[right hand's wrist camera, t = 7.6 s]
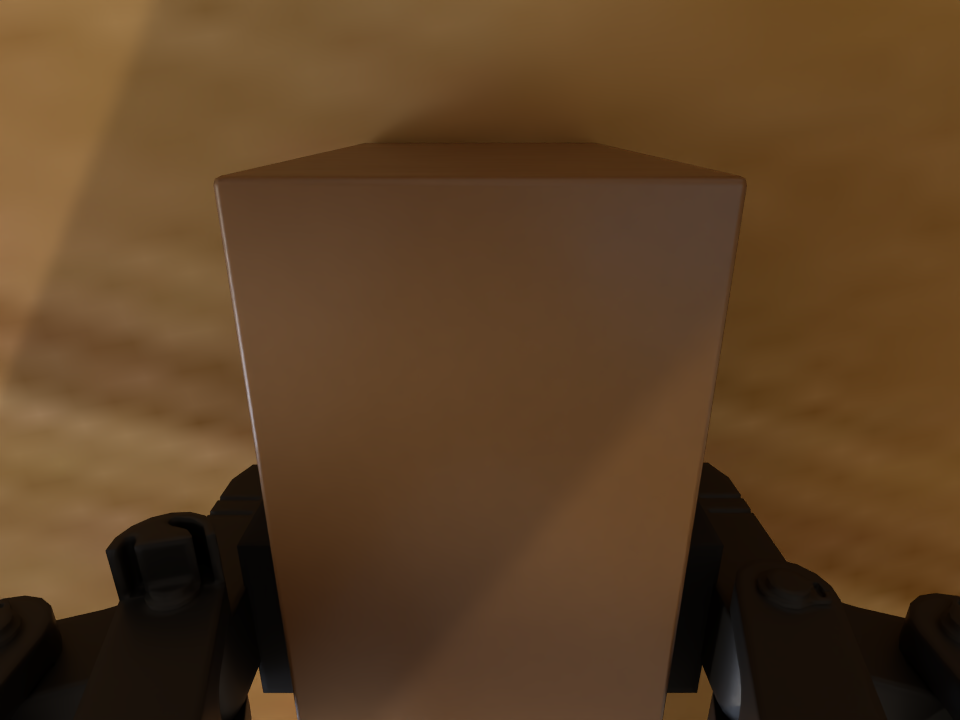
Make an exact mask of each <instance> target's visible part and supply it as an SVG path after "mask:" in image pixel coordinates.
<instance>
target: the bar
mask: <svg viewBox="0 0 960 720" xmlns="http://www.w3.org/2000/svg"><path fill="white" fill-rule="evenodd" d="M746 187H747V184H746V180H745V178H743V177H740V176H738V175H733V174H729V173H724V172H720V171H716V170H711V169H707V168H702V167H698V166H694V165H689V164H685V163H680V162H676V161H672V160H667V159H663V158H658V157H654V156H650V155H645V154H641V153H637V152H632V151H628V150H623V149H619V148H615V147H610V146H606V145H601V144H597V143H364V144H359V145H355V146H351V147H346V148H342V149H337V150H333V151H328V152H324V153H320V154H315V155H311V156H306V157H302V158H298V159H293V160H289V161H284V162H280V163H275V164H271V165H267V166H262V167H258V168H253V169H249V170H245V171H240V172H236V173H231V174H227V175H222V176H220V177H218V178H215V181H214V190H215V197H216V203H217V210H218V216H219V222H220V229H221V235H222V241H223V248H224V254H225V260H226V267H227V273H228V279H229V286H230V292H231V299H232V305H233V311H234V318H235V324H236V330H237V337H238V343H239V349H240V356H241V362H242V369H243V375H244V381H245V388H246V394H247V400H248V407H249V413H250V419H251V426H252V432H253V439H254V445H255V451H256V458H257V464H258V470H259V477H260V483H261V489H262V496H263V502H264V508H265V515H266V521H267V528H268V534H269V540H270V547H271V553H272V559H273V566H274V572H275V578H276V585H277V591H278V598H279V604H280V610H281V617H282V623H283V629H284V636H285V642H286V648H287V655H288V661H289V667H290V674H291V680H292V687H293V693H294V699H295V706H296V712H297V718H298V720H663V714H664V707H665V701H666V695H667V688H668V682H669V676H670V669H671V663H672V656H673V650H674V644H675V637H676V631H677V625H678V618H679V612H680V606H681V599H682V593H683V587H684V580H685V574H686V568H687V561H688V555H689V549H690V542H691V536H692V530H693V523H694V517H695V511H696V504H697V498H698V492H699V485H700V479H701V473H702V466H703V460H704V454H705V447H706V441H707V435H708V428H709V422H710V416H711V409H712V403H713V396H714V390H715V384H716V377H717V371H718V365H719V358H720V352H721V346H722V339H723V333H724V327H725V320H726V314H727V308H728V301H729V295H730V289H731V282H732V276H733V270H734V263H735V257H736V251H737V244H738V238H739V232H740V225H741V219H742V213H743V206H744V200H745V194H746Z"/></svg>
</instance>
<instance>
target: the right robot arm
mask: <svg viewBox="0 0 960 720" xmlns="http://www.w3.org/2000/svg"><path fill="white" fill-rule="evenodd" d="M106 554H107V558H108V561H109V565H110V568H111V572H112V575H113V579H114V582H115V586H116V590H117V593H118V597H119V600H120V601H119V604H118V606H114V607H111V608H108V609H104V610H100V611H96V612H92V613H87V614H83V615H78V616H74V617H69V618H65V619H61V620H56V619H55V616H54V613H53V610H52V607H51V605H49V604H48V603H47V602H46V601H45V600H43V599H42V598H38V597H31V596H19V597H12V598H4V599H1V600H0V720H251V711H250V704H249V699H248V692H249V689H250V687H251V684H252V682H253V679H254V677H255V674H256V672H257V669H258V667H259V671H260V676H261V682H262V687H263V693H293V687H292V680H291V674H290V667H289V661H288V655H287V648H286V642H285V636H284V629H283V623H282V617H281V610H280V604H279V598H278V591H277V585H276V578H275V572H274V566H273V559H272V553H271V547H270V540H269V534H268V528H267V521H266V515H265V508H264V502H263V496H262V489H261V483H260V477H259V470H258V465H252V466H250V467H249V468H248V469H246V470H245V471H243V472H242V473H241V474H239V475H238V476H236V477H235V478H234V479H232V480H231V482H230V483H229V485H228V486H227V488H226V489H225V491H224V492H223V494H222V495H221V497H220V500H218V501H217V502H216V504H215V505H214V507H213V508H212V510H211V511H210V515H208V516H207V517H206V516H204V515H200V514H196V513H192V512H177V513H168V514H164V515H160V516H156V517H152V518H149V519H147V520H145V521H142V522H140V523H138V524H136V525H133V526H131V527H130V528H128V529H127V530H126V531H124V532H123V533H121V534H120V535H119V536H117V537H116V538H115V539H114V540H113V542H112V543H111V544H110V545H109V547H108V548H107V549H106ZM702 665H703V668H704V670H705V673H706V675H707V678H708V680H709V683H710V685H711V688H712V690H713V694H712V699H711V704H710V709H709V715H708V720H960V597H959V596H953V595H946V594H938V593H934V594H927V595H921V596H919V597H917V598H916V599H915V600H914V601H913V602H911V603H910V606H909V609H908V612H907V615H906V618H902V617H898V616H893V615H889V614H885V613H880V612H876V611H871V610H867V609H862V608H858V607H855V606H851V605H848V604H845V603H842V602H841V600H840V598H839V597H838V595H837V594H836V592H835V591H834V589H833V588H832V586H830V585H829V584H828V583H827V582H825V581H824V580H823V579H822V578H821V577H819V576H818V575H817V574H815V573H813V572H811V571H809V570H807V569H805V568H803V567H801V566H799V565H797V564H793V563H790V562H786V560H785V559H784V557H783V556H782V554H781V553H780V551H779V550H778V548H777V547H776V546H775V544H774V543H773V541H772V540H771V538H770V537H769V535H768V534H767V532H766V531H765V530H764V528H763V527H762V525H761V524H760V522H759V521H758V519H757V518H756V516H755V515H754V514H753V513H751V509H750V508H749V506H748V505H747V503H746V502H745V501H744V499H743V498H741V495H740V493H739V492H738V490H737V489H736V487H735V486H734V485H733V483H732V482H731V480H730V479H729V477H727V476H726V475H724V474H723V473H721V472H720V471H719V470H717V469H716V468H714V467H713V466H712V465H710V464H709V463H703V466H702V473H701V479H700V485H699V492H698V498H697V504H696V511H695V517H694V523H693V530H692V536H691V542H690V549H689V555H688V561H687V568H686V574H685V580H684V587H683V593H682V599H681V606H680V612H679V618H678V625H677V631H676V637H675V644H674V650H673V656H672V663H671V669H670V676H669V682H668V688H667V693H697V690H698V684H699V679H700V673H701V668H702Z"/></svg>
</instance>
